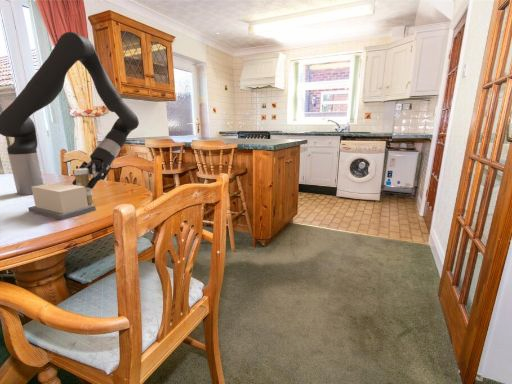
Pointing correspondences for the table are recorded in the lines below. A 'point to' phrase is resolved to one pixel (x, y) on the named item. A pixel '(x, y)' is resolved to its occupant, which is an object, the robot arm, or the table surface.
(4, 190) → the table surface
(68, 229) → the table surface
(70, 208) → the cream and grey block
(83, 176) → the sprinkles bottle
